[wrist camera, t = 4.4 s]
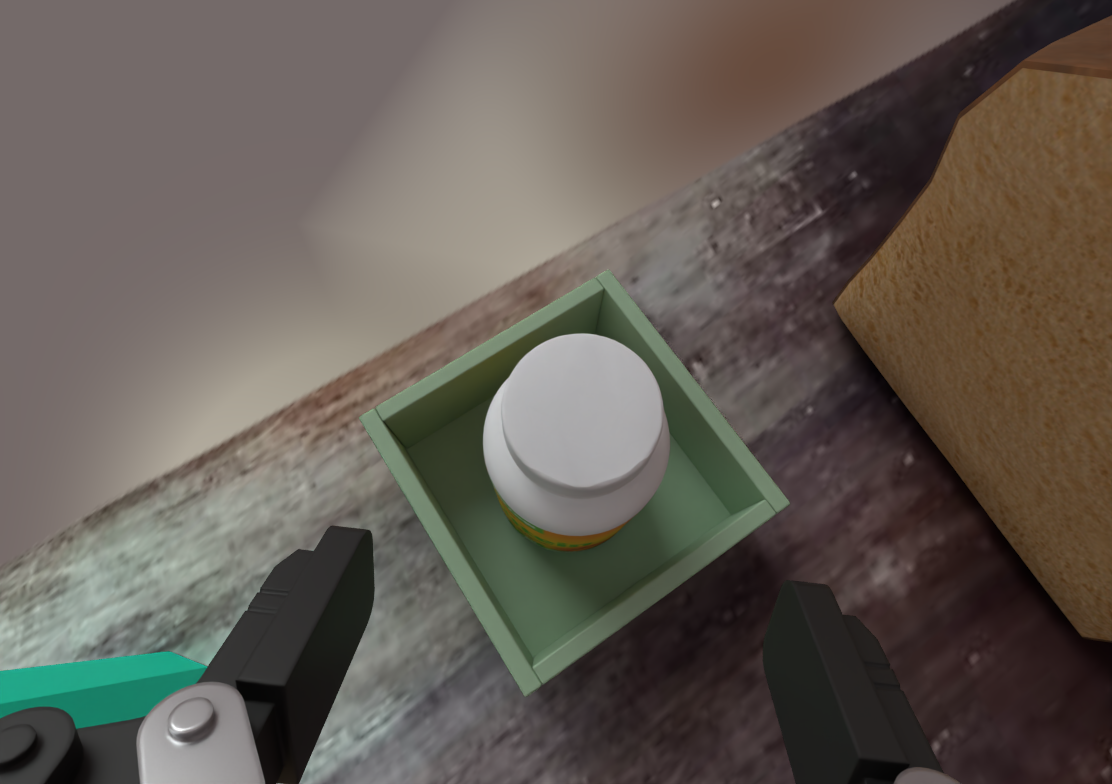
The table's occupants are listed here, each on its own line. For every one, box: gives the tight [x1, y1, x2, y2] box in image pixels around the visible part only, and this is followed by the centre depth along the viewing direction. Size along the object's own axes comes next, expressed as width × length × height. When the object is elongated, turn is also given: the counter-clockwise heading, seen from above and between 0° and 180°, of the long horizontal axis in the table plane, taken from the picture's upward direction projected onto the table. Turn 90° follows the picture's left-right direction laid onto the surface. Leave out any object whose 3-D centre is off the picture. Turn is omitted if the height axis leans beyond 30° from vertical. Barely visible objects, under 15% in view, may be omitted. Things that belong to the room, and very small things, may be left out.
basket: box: [359, 270, 790, 697], centre depth 23 cm, size 10×10×4 cm
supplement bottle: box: [483, 333, 670, 553], centre depth 20 cm, size 5×5×10 cm
